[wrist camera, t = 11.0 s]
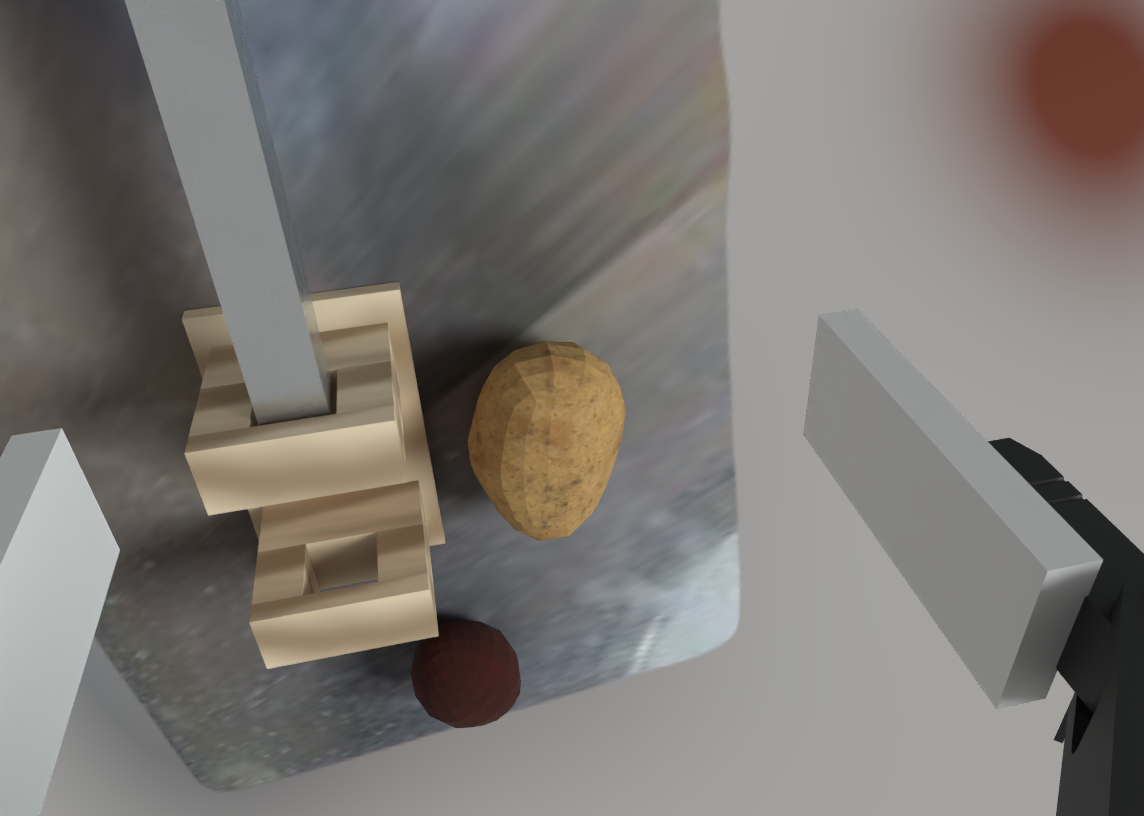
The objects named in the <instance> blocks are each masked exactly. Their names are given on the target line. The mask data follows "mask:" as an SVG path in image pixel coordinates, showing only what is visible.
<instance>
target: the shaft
mask: <svg viewBox="0 0 1144 816" xmlns="http://www.w3.org/2000/svg"><path fill="white" fill-rule="evenodd" d="M125 3H126V6H127V9H128V12H129V16H130V19H131V22H132V25H133V28H134V31H135V35H136V38H137V41H138V44H139V47H140V51H141V54H142V57H143V60H144V63H145V66H146V70H147V73H148V76H149V79H150V82H151V85H152V89H153V92H154V95H155V98H156V101H157V105H158V108H159V111H160V114H161V117H162V120H163V124H164V127H165V130H166V133H167V136H168V139H169V143H170V146H171V149H172V152H173V155H174V159H175V162H176V165H177V168H178V171H179V174H180V178H181V181H182V184H183V187H184V190H185V193H186V197H187V200H188V203H189V206H190V209H191V213H192V216H193V219H194V222H195V225H196V228H197V232H198V235H199V238H200V241H201V244H202V247H203V251H204V254H205V257H206V260H207V263H208V267H209V270H210V273H211V276H212V279H213V282H214V286H215V289H216V292H217V295H218V298H219V301H220V305H221V308H222V311H223V314H224V317H225V321H226V324H227V327H228V330H229V333H230V336H231V340H232V343H233V346H234V349H235V352H236V355H237V359H238V362H239V365H240V368H241V371H242V375H243V378H244V381H245V384H246V387H247V390H248V394H249V397H250V400H251V403H252V406H253V409H254V413H255V416H256V419H257V422H258V425H259V426H261V425H268V424H274V423H281V422H287V421H294V420H300V419H307V418H313V417H320V416H326V415H333V414H337V401H336V397H335V393H334V389H333V385H332V381H331V376H330V372H329V368H328V364H327V360H326V356H325V352H324V348H323V344H322V340H321V336H320V332H319V328H318V324H317V320H316V316H315V312H314V308H313V303H312V299H311V295H310V291H309V287H308V283H307V279H306V275H305V271H304V267H303V263H302V259H301V255H300V251H299V247H298V243H297V239H296V234H295V230H294V226H293V222H292V218H291V214H290V210H289V206H288V202H287V198H286V194H285V190H284V186H283V182H282V178H281V174H280V170H279V166H278V161H277V157H276V153H275V149H274V145H273V141H272V137H271V133H270V129H269V125H268V121H267V117H266V113H265V109H264V105H263V101H262V97H261V93H260V88H259V84H258V80H257V76H256V72H255V68H254V64H253V60H252V56H251V52H250V48H249V44H248V40H247V36H246V32H245V28H244V24H243V19H242V15H241V11H240V7H239V3H238V0H125Z"/></svg>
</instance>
